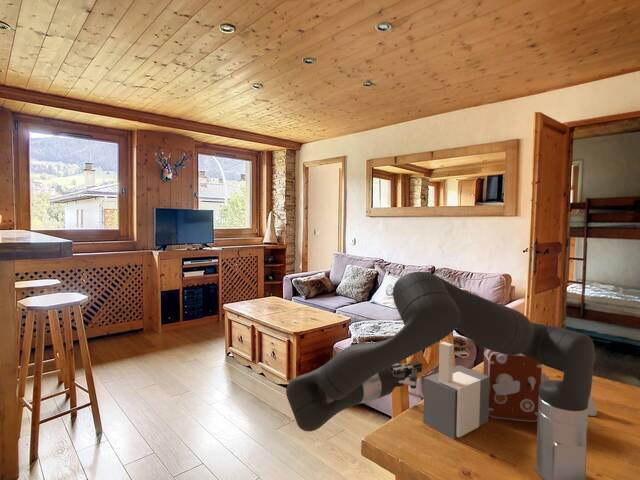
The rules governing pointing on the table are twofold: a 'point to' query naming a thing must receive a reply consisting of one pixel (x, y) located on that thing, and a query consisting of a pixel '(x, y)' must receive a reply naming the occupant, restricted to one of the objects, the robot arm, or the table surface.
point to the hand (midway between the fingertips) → (419, 366)
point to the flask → (591, 407)
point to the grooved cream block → (460, 390)
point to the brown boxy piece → (513, 385)
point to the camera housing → (450, 402)
